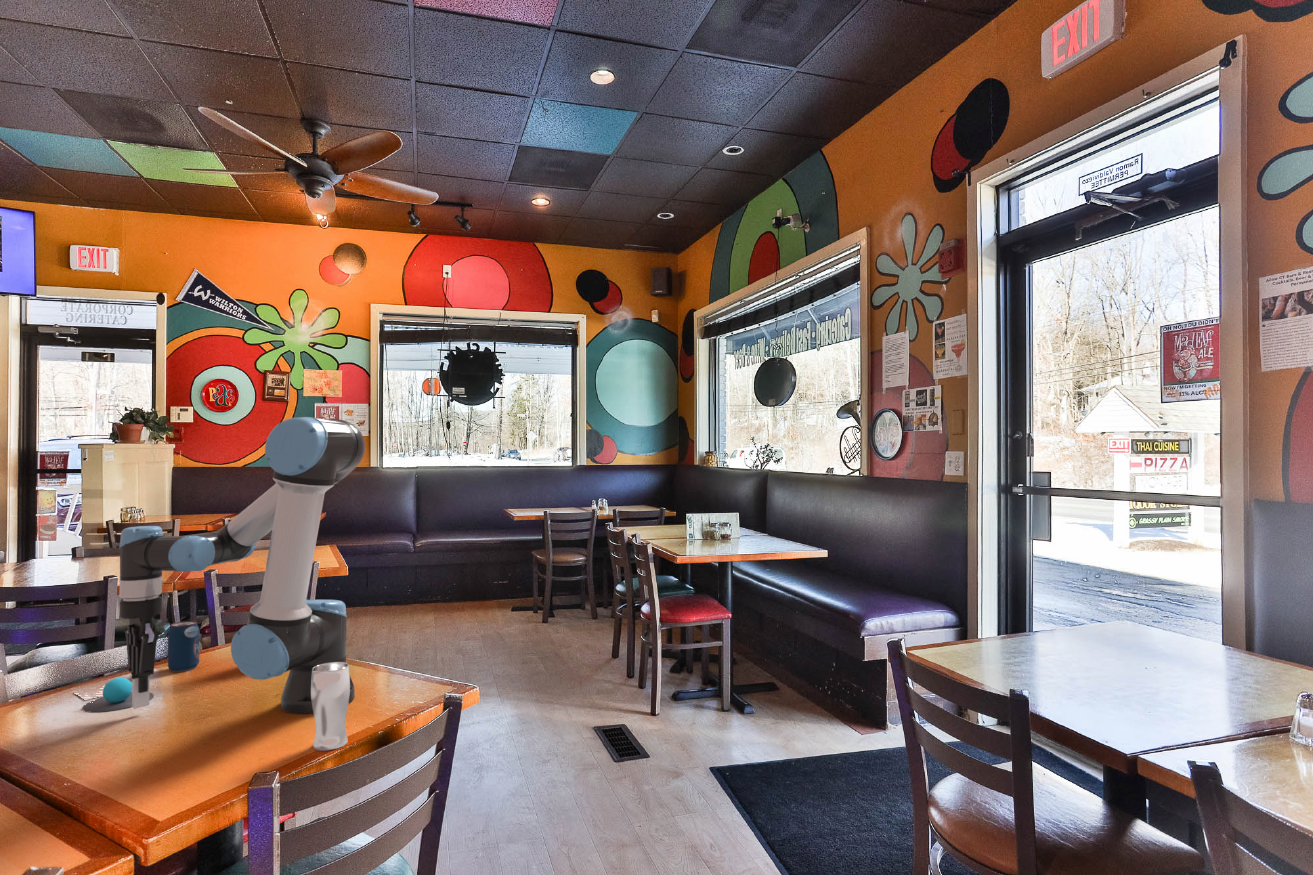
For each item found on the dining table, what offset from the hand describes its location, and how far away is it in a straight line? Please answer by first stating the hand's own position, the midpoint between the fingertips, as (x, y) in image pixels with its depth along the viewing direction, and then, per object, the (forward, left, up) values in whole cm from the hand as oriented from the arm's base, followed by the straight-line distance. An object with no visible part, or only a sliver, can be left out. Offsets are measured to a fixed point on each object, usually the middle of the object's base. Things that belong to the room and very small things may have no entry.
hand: (140, 706), depth 156 cm
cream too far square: (+26, 0, -2) cm, 26 cm away
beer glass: (-49, -16, -2) cm, 52 cm away
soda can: (+31, -19, -2) cm, 36 cm away
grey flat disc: (+14, 0, -2) cm, 14 cm away
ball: (+14, 0, +1) cm, 14 cm away
